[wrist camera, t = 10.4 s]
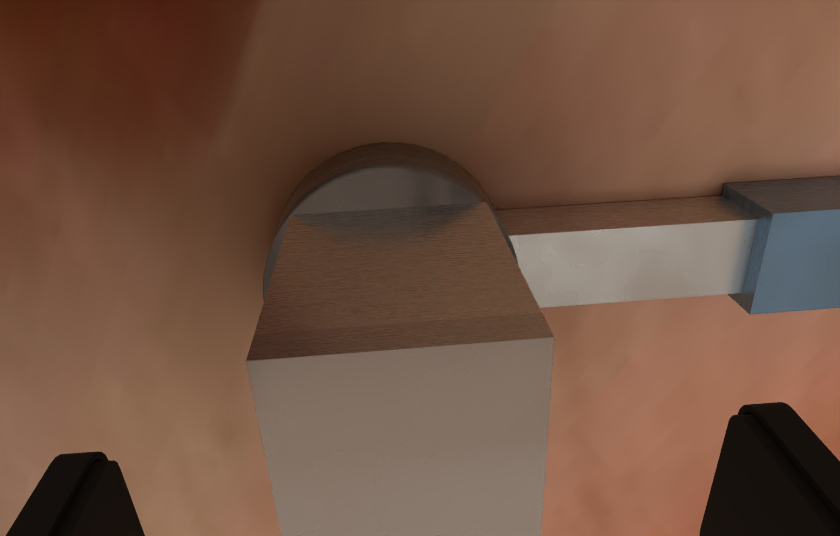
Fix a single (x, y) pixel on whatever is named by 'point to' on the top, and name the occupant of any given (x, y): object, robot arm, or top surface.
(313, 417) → the white cube
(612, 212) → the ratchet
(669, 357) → the top surface
